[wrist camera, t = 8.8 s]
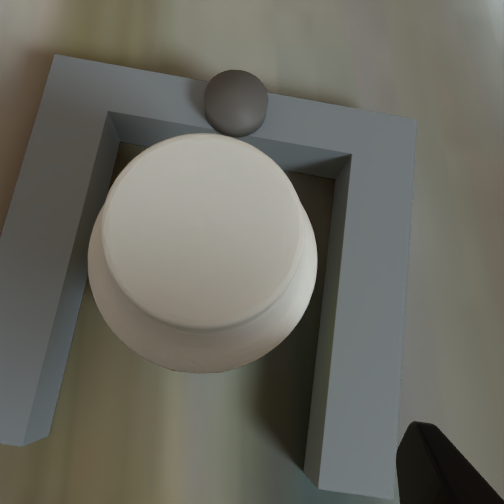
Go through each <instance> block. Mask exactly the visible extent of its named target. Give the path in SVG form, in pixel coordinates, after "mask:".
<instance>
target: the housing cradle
mask: <svg viewBox="0 0 504 504" xmlns="http://www.w3.org/2000/svg"><path fill="white" fill-rule="evenodd" d="M196 133H211V134H219V135H224V136H229V137H232V138H235V139H238V140H241V141H243V142H246V143H248V144H250V145H252V146H254V147H255V148H257V149H259V150H260V151H262V152H263V153H264V154H266V155H267V156H268V157H270V158H271V159H272V160H273V161H274V162H275V163H276V164H277V165H278V166H279V167H280V168H281V169H282V170H286V171H292V172H297V173H303V174H309V175H315V176H320V177H326V178H332V179H336V180H335V189H334V198H333V207H332V216H331V226H330V235H329V244H328V253H327V262H326V271H325V280H324V289H323V299H322V308H321V317H320V326H319V335H318V344H317V353H316V362H315V372H314V381H313V390H312V399H311V408H310V417H309V426H308V435H307V445H306V454H305V463H304V472H303V473H304V474H305V475H306V476H307V477H308V478H309V479H310V480H311V482H312V483H313V484H314V485H315V486H316V487H317V488H318V489H322V490H329V491H336V492H343V493H350V494H357V495H364V496H371V497H378V498H385V499H392V500H393V498H394V482H395V466H396V450H397V435H398V419H399V403H400V387H401V371H402V356H403V340H404V324H405V308H406V293H407V277H408V261H409V245H410V229H411V214H412V198H413V182H414V166H415V150H416V135H417V119H412V118H406V117H401V116H395V115H390V114H384V113H379V112H373V111H368V110H362V109H357V108H351V107H345V106H340V105H334V104H329V103H323V102H318V101H312V100H307V99H301V98H296V97H290V96H285V95H279V94H273V93H268V92H267V90H266V88H265V86H264V84H263V83H262V82H261V81H260V80H259V79H258V78H257V77H256V76H254V75H253V74H251V73H248V72H246V71H242V70H228V71H224V72H221V73H219V74H218V75H216V76H215V77H213V78H212V79H211V80H210V82H207V81H202V80H196V79H190V78H185V77H179V76H174V75H168V74H163V73H157V72H152V71H146V70H141V69H135V68H130V67H124V66H119V65H113V64H107V63H102V62H96V61H91V60H85V59H80V58H74V57H69V56H63V55H58V54H55V55H54V58H53V62H52V65H51V68H50V72H49V75H48V78H47V82H46V85H45V88H44V92H43V95H42V98H41V102H40V105H39V108H38V112H37V115H36V119H35V122H34V125H33V129H32V132H31V135H30V139H29V142H28V145H27V149H26V152H25V155H24V159H23V162H22V165H21V169H20V172H19V176H18V179H17V182H16V186H15V189H14V192H13V196H12V199H11V202H10V206H9V209H8V212H7V216H6V219H5V222H4V226H3V229H2V233H1V236H0V444H6V445H13V446H20V447H23V446H25V445H28V444H30V443H32V442H35V441H37V440H40V439H42V438H45V437H47V436H49V433H50V428H51V424H52V420H53V416H54V412H55V408H56V404H57V400H58V396H59V391H60V387H61V383H62V379H63V375H64V371H65V367H66V363H67V358H68V354H69V350H70V346H71V342H72V338H73V334H74V330H75V325H76V321H77V317H78V313H79V309H80V305H81V301H82V297H83V292H84V288H85V284H86V280H87V276H88V248H89V242H90V237H91V234H92V230H93V227H94V224H95V221H96V219H97V217H98V214H99V212H100V210H101V209H102V207H103V205H104V204H105V201H106V198H107V194H108V189H109V185H110V181H111V177H112V173H113V169H114V165H115V161H116V157H117V152H118V148H119V144H120V142H124V143H130V144H136V145H141V146H147V147H151V146H152V145H154V144H156V143H159V142H161V141H164V140H166V139H169V138H172V137H176V136H180V135H186V134H196Z"/></svg>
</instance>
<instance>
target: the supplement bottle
mask: <svg viewBox="0 0 504 504" xmlns="http://www.w3.org/2000/svg"><path fill="white" fill-rule="evenodd" d="M316 273H317V247H316V241H315V236H314V232H313V229H312V226H311V223H310V220H309V218H308V216H307V213H306V211H305V210H304V208H303V206H302V204H301V203H300V200H299V198H298V195H297V193H296V191H295V189H294V187H293V185H292V183H291V182H290V180H289V179H288V177H287V176H286V174H285V173H284V172H283V170H282V169H281V168H280V167H279V166H278V165H277V164H276V163H275V162H274V161H273V160H272V159H271V158H270V157H268V156H267V155H266V154H264V153H263V152H262V151H260V150H259V149H257V148H255V147H254V146H252V145H250V144H248V143H246V142H243V141H241V140H238V139H235V138H232V137H229V136H224V135H219V134H211V133H196V134H186V135H180V136H176V137H172V138H169V139H166V140H164V141H161V142H159V143H156V144H154V145H152V146H151V147H149V148H147V149H146V150H144V151H143V152H141V153H140V154H139V155H138V156H136V157H135V158H134V159H133V160H132V161H131V162H129V163H128V165H127V166H126V167H125V168H124V169H123V170H122V171H121V173H120V174H119V175H118V177H117V178H116V179H115V181H114V183H113V185H112V187H111V188H110V190H109V192H108V195H107V198H106V201H105V204H104V205H103V207H102V209H101V210H100V212H99V214H98V217H97V219H96V221H95V224H94V227H93V230H92V234H91V237H90V242H89V248H88V276H89V282H90V286H91V290H92V293H93V296H94V300H95V302H96V304H97V307H98V309H99V311H100V313H101V315H102V317H103V318H104V320H105V321H106V323H107V325H108V326H109V327H110V329H111V330H112V331H113V332H114V333H115V335H116V336H117V337H118V338H119V339H120V340H121V341H122V342H123V343H124V344H125V345H127V346H128V347H129V348H130V349H132V350H133V351H134V352H136V353H137V354H138V355H140V356H142V357H143V358H145V359H147V360H148V361H150V362H152V363H154V364H157V365H159V366H162V367H164V368H167V369H170V370H173V371H180V372H188V373H218V372H224V371H229V370H232V369H236V368H239V367H242V366H244V365H247V364H249V363H251V362H253V361H255V360H257V359H259V358H261V357H263V356H264V355H265V354H267V353H268V352H270V351H271V350H273V349H274V348H275V347H276V346H277V345H279V344H280V343H281V342H282V341H283V340H284V339H285V338H286V337H287V336H288V335H289V334H290V333H291V331H292V330H293V329H294V328H295V326H296V325H297V324H298V322H299V321H300V319H301V318H302V316H303V314H304V312H305V310H306V308H307V306H308V304H309V301H310V298H311V296H312V293H313V289H314V285H315V281H316Z"/></svg>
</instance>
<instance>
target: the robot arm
mask: <svg viewBox="0 0 504 504" xmlns="http://www.w3.org/2000/svg"><path fill="white" fill-rule="evenodd" d="M396 468H397V478H398V487H399V497H400V504H504V500H503V499H502V498H501V497H500V496H499V495H498V494H497V493H496V491H495V490H494V489H493V488H492V487H491V486H490V485H489V484H488V483H487V481H486V480H485V479H484V478H483V477H482V476H481V475H480V474H479V473H478V471H477V470H476V469H475V468H474V467H473V466H472V465H471V464H470V463H469V461H468V460H467V459H466V458H465V457H464V456H463V455H462V454H461V453H460V452H459V450H458V449H457V448H456V447H455V446H454V445H453V444H452V443H451V442H450V440H449V439H448V438H447V437H446V436H445V435H444V434H443V433H442V432H441V430H440V429H439V428H438V427H437V426H435V425H434V424H431V423H424V422H417V421H413V422H412V423H410V425H409V426H408V428H407V430H406V432H405V434H404V436H403V438H402V441H401V443H400V445H399V447H398V449H397V453H396Z"/></svg>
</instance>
